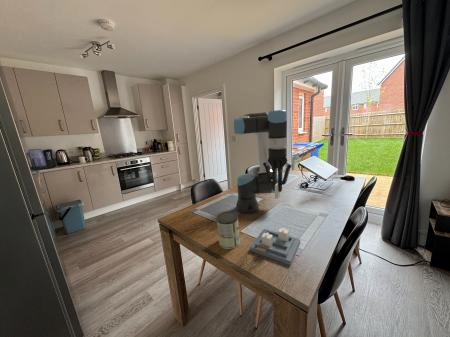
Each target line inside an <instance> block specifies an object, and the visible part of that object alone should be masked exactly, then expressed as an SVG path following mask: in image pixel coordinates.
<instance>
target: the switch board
mask: <svg viewBox="0 0 450 337" xmlns="http://www.w3.org/2000/svg"><path fill="white" fill-rule="evenodd" d="M267 232H268V233H269V234H270V235H273V245H272V247H268V246H265V245H262V238H261V236H262V235H263V233H267ZM300 244H301V238H298V237H295V236H291V235H289V241H288V242H286V241H283V240H280V239H278V231H277V232H276V231H273V230H270V229H266V228H263V230H262V231H261V232H260V233H259V235H258V236H257V237H256V238H255V239H254V240H253V242H252V243H251V244H250V246H249V251H251V252H253V253H255V254H258V255H260V256H263V257H266V258H269V259H272V260H274V261H277V262H280V263H282V264H285V265H287V266H291V265H292V263H293V261H294V259H295V257H296V254H297V252H298V249H299V247H300Z"/></svg>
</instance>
